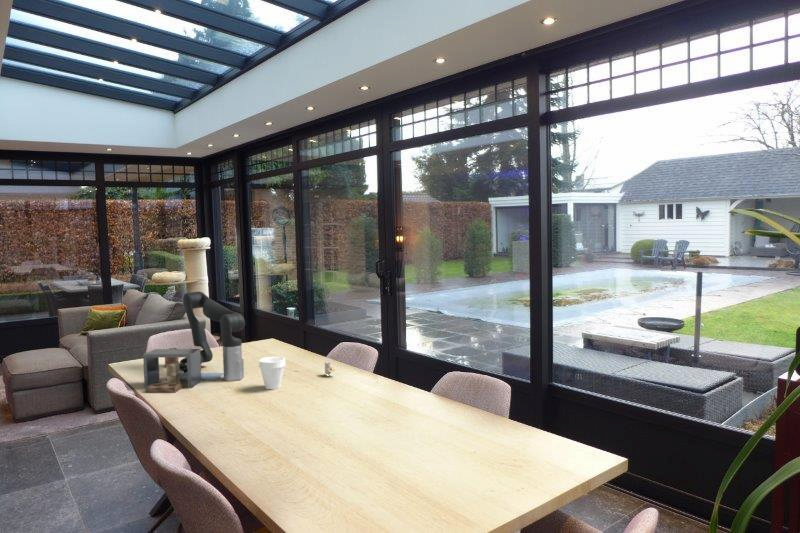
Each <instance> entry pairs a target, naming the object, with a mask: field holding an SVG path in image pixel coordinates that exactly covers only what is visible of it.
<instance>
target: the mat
mask: <svg viewBox="0 0 800 533" xmlns="http://www.w3.org/2000/svg"><path fill="white" fill-rule="evenodd" d="M222 375H223V376H224V372H201V381H202V380H203V381H216V380H218V379H220V378H221V377H223V376H222ZM165 380H166V381H167V378H166V379H165ZM185 380H186V381H188V372H186V373H183V372H180V381H185Z"/></svg>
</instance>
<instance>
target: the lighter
mask: <svg viewBox="0 0 800 533" xmlns="http://www.w3.org/2000/svg"><path fill="white" fill-rule="evenodd" d="M168 349H178V347H171V348H168ZM169 362H179V363H180V361H179V357H164V368H166V364H167V363H169Z"/></svg>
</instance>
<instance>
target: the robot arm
mask: <svg viewBox="0 0 800 533" xmlns="http://www.w3.org/2000/svg"><path fill="white" fill-rule="evenodd" d="M182 302H183V307H184V310H185V314H186V318H187V321H188V323H189V326H190V329H191V330H190V331H191V334H192V343H193V345H194V347H200V348H201V349H200V357H201V365H202V364H203V363H209V362H211V361H212V360H213V352H212V350H211V348H210V346H209V342H208V339H207V334H206V330H205V327H204V325H203V324H202V323H201V322H200V321H199V319H198V318H197V316H196V315H195V313H194V309H195V310H196V309H202V313H203V315H204V317H206V318H207V319H209V320H211V321H214V322H219V325H220V326H219V327H220V335H221V336H220V337H221V342H222V363H223V364H222V366H223V367H222V368H223V373H224V375H223V380H224V381H225V382H227V381H228V382H233V381H241V380H242V379H244V378H245V367H244V366H245V365H244V358H243V346H242V344H243V342H242V339H241V338H239V337H235V336H233V334H232V333H236V332H240V331H242V330H243V329H244V328H245V326H246V320H245V318H244V316H243V315H242V314H241V313H239V312H236V311H233V310H231V309H229V308H227V307H225V306H223V305H221V303H219V302H217V301H215V300H213V299H211V298H210V297H209V296H208V295H206V294H205V293H204V292H202V291H192V292H186V293H184V294H183V296H182ZM179 369H180V372H181V371H182V373H188V369H187V357H183V358H181V359H180V361H179Z"/></svg>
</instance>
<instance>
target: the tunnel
mask: <svg viewBox="0 0 800 533" xmlns="http://www.w3.org/2000/svg"><path fill="white" fill-rule="evenodd" d="M200 350H201V348H177V349H169V348H154V349H152V350H150V351H148V352H145V353H143V354H142V357H143V360H142V361H143V379H144V381H143V382H144V383H143V384H144V389H146V387H147V386H149V385H151V384H153V383H157V382H158V383H159V381H160V360H159V358H165V357H178V358H186V357H187V369H188V372H187V373H188V380H187V388H188V389H192V388H194V387H195V386H196V385H198V384H200V383H202V380H201V373H202V364H201V357H200Z"/></svg>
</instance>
